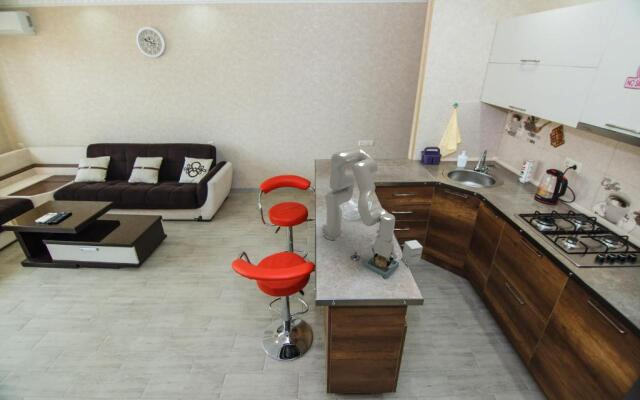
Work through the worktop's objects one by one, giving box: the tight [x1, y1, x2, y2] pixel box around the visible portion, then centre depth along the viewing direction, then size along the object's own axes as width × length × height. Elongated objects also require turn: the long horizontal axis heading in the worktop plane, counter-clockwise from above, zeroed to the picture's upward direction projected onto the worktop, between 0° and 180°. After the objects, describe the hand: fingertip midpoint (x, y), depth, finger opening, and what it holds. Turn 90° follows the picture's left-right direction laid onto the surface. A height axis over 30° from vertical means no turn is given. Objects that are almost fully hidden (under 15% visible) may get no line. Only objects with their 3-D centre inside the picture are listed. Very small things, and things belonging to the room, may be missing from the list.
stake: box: [349, 251, 362, 262], centre depth 175 cm, size 6×6×5 cm
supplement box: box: [401, 239, 424, 268], centre depth 171 cm, size 7×7×13 cm
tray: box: [364, 254, 400, 280], centre depth 169 cm, size 14×14×3 cm
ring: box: [374, 255, 388, 268], centre depth 168 cm, size 7×7×3 cm
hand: (381, 262), depth 168 cm, fingers closed on ring, 7 cm apart
